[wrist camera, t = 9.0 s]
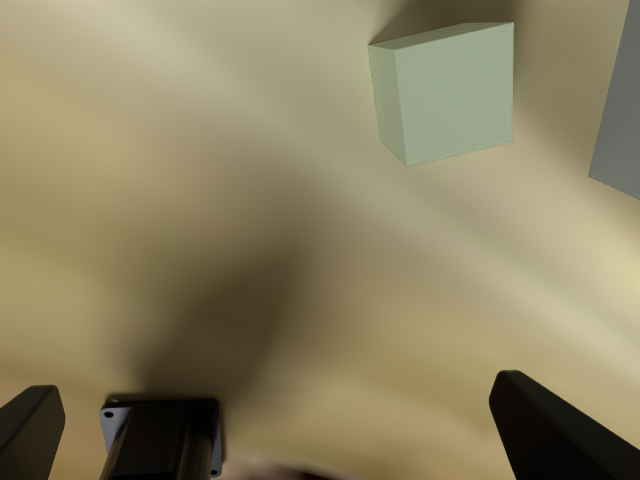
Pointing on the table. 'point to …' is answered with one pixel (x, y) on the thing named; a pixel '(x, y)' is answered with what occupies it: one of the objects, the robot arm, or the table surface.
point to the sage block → (444, 90)
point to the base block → (622, 115)
